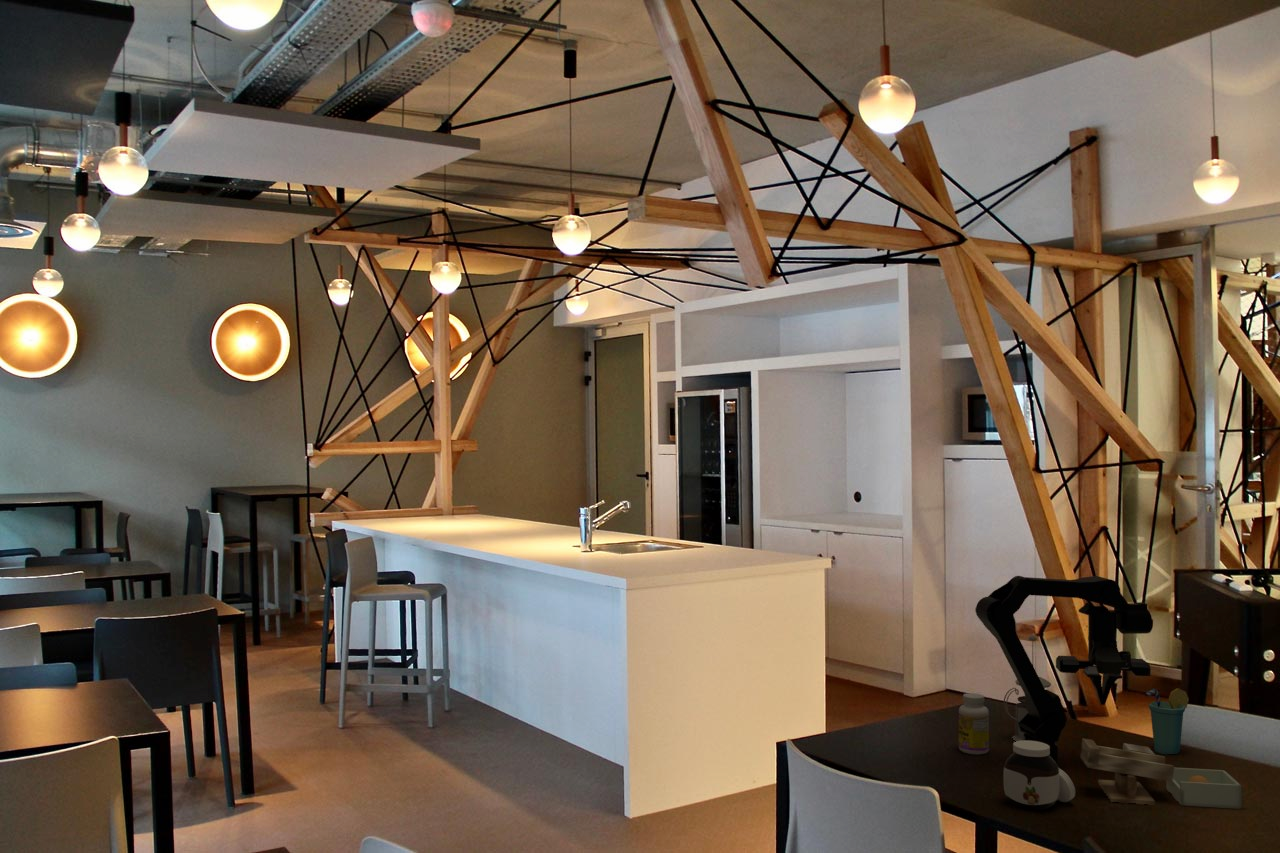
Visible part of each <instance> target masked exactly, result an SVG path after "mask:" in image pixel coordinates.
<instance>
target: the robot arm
mask: <svg viewBox="0 0 1280 853" xmlns="http://www.w3.org/2000/svg"><path fill="white" fill-rule="evenodd" d="M1030 596H1035V597H1037V596H1039V597H1056V598H1057V597H1058V598H1070V599H1071V598H1072V599H1080V600H1084V601H1087V602H1085V603H1084V604H1083V606H1081V607H1080V608H1079V609H1078V612H1079V613H1080V614H1083V615H1086V616H1087V615H1088V622H1087V623H1088V626H1087V628H1088V630H1087V632H1088V634H1087V635H1088V636H1087V642H1088V647H1087V648H1088V650H1087V652H1088V654H1087V659H1088V660H1079V659H1078V658H1077V657H1076V656H1074V655H1058V656H1057V657H1056V658H1055V668H1056V669H1057V670H1058V672H1060V673H1061V674H1062V673H1064V674H1076V673H1078V672H1079V671H1080V670H1082V673H1083V674H1084V675H1085V677H1087V678H1089V680H1090V681H1091V683H1092V685H1093V688H1094V691H1095V694H1096V696H1097V698H1098V702H1099V704H1100V706H1105V705H1106V702H1107V701H1108V697H1109V695H1110V692H1111V690H1112V687H1113V685H1114V684H1115V682H1117V680H1118V679H1122V678H1123V675H1122V671H1124V672H1125V671H1127V672H1132V674H1133V675H1134V676H1138V677H1150V676H1151V665H1150V664H1149V663H1148V662H1147V661H1145V660H1144V659H1143V658H1135V657H1133V658H1132V654H1131V651H1129V650H1127V651H1125V650H1120V651H1119V649H1118V641H1117V630H1118V631H1119V632H1120V634H1122V635H1126V634H1127V635H1128V634H1129V635H1130V634H1131V635H1134V634H1139V635H1140V634H1150V633H1151V632H1152V630H1153V626H1154V619H1153V617H1152V614H1151V612H1150V610H1149V609H1148V603H1145V602H1135V603H1132V602H1131V603H1128V601H1127V600H1126V598H1125V597H1124V595H1123V594H1122V593H1121V588H1120V585H1119V584H1118V582H1116V580H1114V579H1109V578H1106V577H1102V576H1098V575H1092V576H1091V575H1090V576H1083V577H1080V578H1075V579H1061V578H1057V579H1056V578H1046V577H1045V578H1043V577H1042V578H1041V577H1027V576H1022V575H1015V576H1013V577H1012V578H1010V580H1009V581H1008V582H1006V583H1005V584H1003V585H1002V586H1000V587H998V588H996V589H995V590H993V591H992V592H991V593H990V594H989V595H987V596H984V597H982V598H981V599H979V601H978V602H977V603H976V607H975V614H976V616H977V618H978V619H979V620H980V622H981V623H982V624H983V625H984V628H986V629H987V630H988V631H989V633H990V634H991V635H992V636H994V638H995V640H997V642H998V645H999V646H1000V649H1001V651H1002V652H1003V654H1004V657H1005V658H1006V660H1007V663H1008V664H1009V667H1010V668H1011V671H1012V672H1013V673H1014V676H1015V678H1016V680H1018V682H1019V684H1020V688H1021V689H1022V692H1023V694H1024V697H1025V704H1026V707H1025V709H1027V711H1028V713H1027V714H1026V715H1025V716H1024V717H1023V718H1022V719H1021V720H1020V722H1019V723H1018V725H1019V728H1020V731H1021V732H1023V733H1025V734H1023V740H1028V741H1037V742H1042V743H1045V744H1047V745H1049V746H1050V754H1049V756H1050V757H1051V758H1052V759H1053V760H1054V761H1055V762H1056V764H1057V765H1058V764H1059V762H1058V761H1059V757H1058V756H1059V753H1058V752H1059V748H1058V745H1057V743H1056V742H1059V739H1060V736H1061V733H1062V730H1063V729H1064V728H1065V727H1066V724H1067V722H1068V719H1067V715H1066V713H1068V710H1067V709H1066V708H1065V707H1064V706H1063V703H1062V700H1061V697H1060V696H1059V695H1058V694H1056V693H1055V692H1053V691H1050V690H1049V689H1047V688H1044V686H1043V685H1042V683H1041V681H1040V679H1039V677H1040V676H1039V675H1038V673H1037V671H1036V669H1035V667H1034V664H1033V665H1032V660H1031V659H1030V657H1029V655H1028V653H1027V651H1026V650H1025V648H1024V646H1023V644H1022V642H1021V640H1020V638H1019V636H1018V634H1017V622H1016V619H1015V615H1014V614H1016V613H1017V612H1018V611H1019V610H1020V609H1021V607H1022V605H1023V604H1024V602H1025V601H1026V600H1027V598H1029V597H1030ZM1090 602H1092V603H1096V604H1099V605H1093V604H1092V603H1090ZM1106 606H1107V607H1106ZM1108 607H1110V608H1113V609H1109V608H1108Z"/></svg>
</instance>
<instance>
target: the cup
mask: <svg viewBox="0 0 1280 853" xmlns="http://www.w3.org/2000/svg"><path fill="white" fill-rule="evenodd" d="M1152 695H1154V696H1155V701H1151V702H1150V703H1149V704H1148V708H1149V710H1150V717H1151V718H1150V720H1151V727H1152V728H1151V730H1152V738H1153V750H1154V751H1153V752H1156V753H1159V754H1162V755H1167V754H1178V753H1179V752H1180V750H1181V743H1182V730H1183V719H1184V713H1185V711H1186V709H1187V707H1188V704H1189V701H1190V698H1189V696H1188V694H1187V691H1186V690H1183V689H1181V688H1175V689H1173V690H1172V691H1170V694H1169V697H1168V699H1167V700H1168V701H1164V700H1161V699H1160V695H1159V692H1158V690H1157V689H1155V688H1152V689H1151V690H1149V691H1147V692H1145V693H1144V696H1145V697H1149V696H1152ZM1179 754H1180V753H1179ZM1179 754H1178V755H1179Z"/></svg>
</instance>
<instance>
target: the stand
mask: <svg viewBox="0 0 1280 853" xmlns="http://www.w3.org/2000/svg"><path fill="white" fill-rule="evenodd" d="M1137 778H1138V777H1137V776H1136V775H1130V774H1124V773H1118V772H1114V780H1110V779H1097V784H1098V785H1099V787H1100V786H1101V787H1100V788H1101V790H1102V789H1103V790H1102V792H1104V794H1105V793H1106V794H1105V796H1106V797H1107V796H1108V797H1107V799H1108V800H1109V799H1110V800H1109V802H1111V803H1112V802H1119V803H1118V804H1128V803H1136V804H1135V805H1144V804H1148V805H1147V806H1155V805H1156V801H1155V799H1154V798H1153V797H1152V796H1151V795H1150V793H1149V792H1148V791H1147V790H1146V788H1145V787H1144V786H1143V785H1142V784H1141V782H1139V781H1137Z"/></svg>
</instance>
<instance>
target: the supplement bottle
mask: <svg viewBox="0 0 1280 853" xmlns="http://www.w3.org/2000/svg"><path fill="white" fill-rule="evenodd" d="M962 700H963V704H962V705H960V707H959V708H958V749H959V751H961V752H962V753H965V754H968V755H977V756H978V755H979V756H980V755H986V754H987V753H988V752H989V750H990V749H989V748H990V747H989V746H990V732H989V731H990V723H989V722H990V712H989V709H988V707H986V706H984V703H985V700H986V699H985V695H983V694H980V693H975V692H974V693H973V692H972V693H971V692H969V693H967V692H966V693H963V696H962Z"/></svg>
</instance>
